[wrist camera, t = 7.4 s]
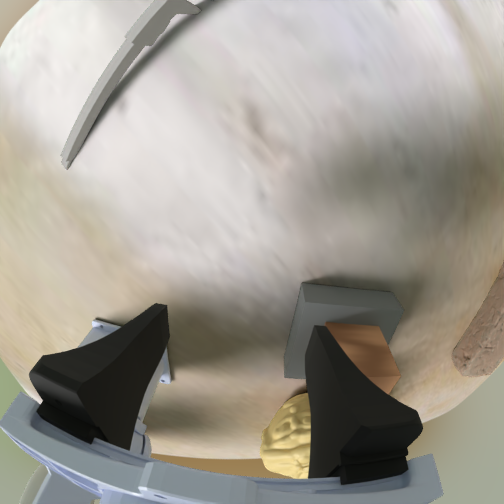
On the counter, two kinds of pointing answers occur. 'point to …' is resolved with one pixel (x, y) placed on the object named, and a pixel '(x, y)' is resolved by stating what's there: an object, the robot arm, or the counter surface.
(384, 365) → the block
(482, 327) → the brick
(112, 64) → the caliper
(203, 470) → the robot arm
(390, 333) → the base
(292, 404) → the sculpture
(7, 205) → the counter surface
